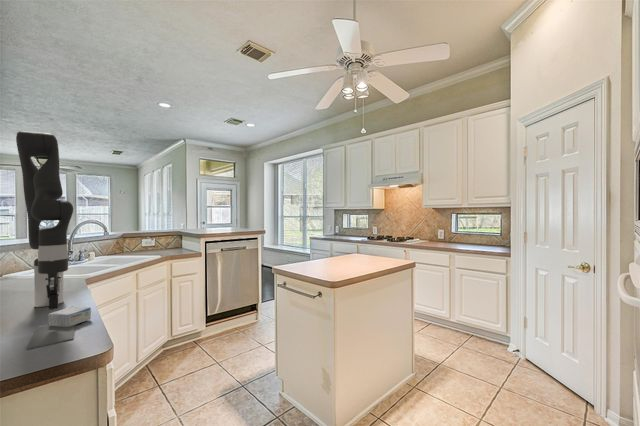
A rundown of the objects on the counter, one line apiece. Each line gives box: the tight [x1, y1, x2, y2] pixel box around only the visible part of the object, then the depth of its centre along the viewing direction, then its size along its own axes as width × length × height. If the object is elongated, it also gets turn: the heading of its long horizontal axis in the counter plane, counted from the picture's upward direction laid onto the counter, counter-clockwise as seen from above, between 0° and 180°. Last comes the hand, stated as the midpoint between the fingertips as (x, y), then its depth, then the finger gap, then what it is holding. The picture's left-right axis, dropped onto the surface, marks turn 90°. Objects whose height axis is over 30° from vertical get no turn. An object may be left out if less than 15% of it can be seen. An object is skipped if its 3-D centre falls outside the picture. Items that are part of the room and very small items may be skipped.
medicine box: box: [48, 305, 92, 327], centre depth 100 cm, size 8×4×9 cm
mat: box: [26, 324, 76, 351], centre depth 91 cm, size 20×10×1 cm, turn 40°
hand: (53, 308), depth 96 cm, fingers closed
